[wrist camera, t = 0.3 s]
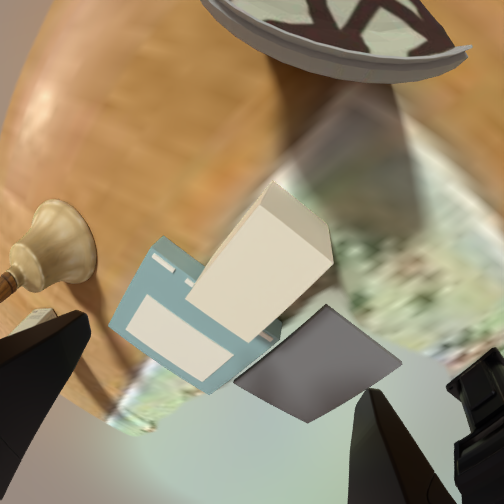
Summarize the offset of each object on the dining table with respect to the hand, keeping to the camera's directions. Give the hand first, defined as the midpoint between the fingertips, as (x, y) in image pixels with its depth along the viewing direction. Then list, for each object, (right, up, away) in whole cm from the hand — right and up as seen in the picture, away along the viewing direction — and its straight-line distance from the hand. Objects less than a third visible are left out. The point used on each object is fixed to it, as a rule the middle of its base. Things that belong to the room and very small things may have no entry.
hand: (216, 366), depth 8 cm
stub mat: (+7, -7, +17) cm, 19 cm away
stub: (+2, +4, +12) cm, 13 cm away
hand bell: (-16, +4, +16) cm, 23 cm away
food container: (+4, +16, +6) cm, 18 cm away
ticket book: (-4, -2, +16) cm, 17 cm away
